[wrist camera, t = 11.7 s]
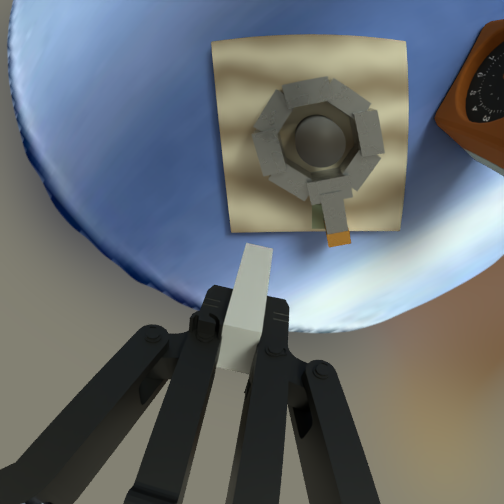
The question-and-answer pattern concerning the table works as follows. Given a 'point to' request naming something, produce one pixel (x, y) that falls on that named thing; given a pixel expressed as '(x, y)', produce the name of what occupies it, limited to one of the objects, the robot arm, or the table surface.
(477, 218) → the table surface
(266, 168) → the grey handled ring
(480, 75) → the alarm clock
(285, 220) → the collar base
